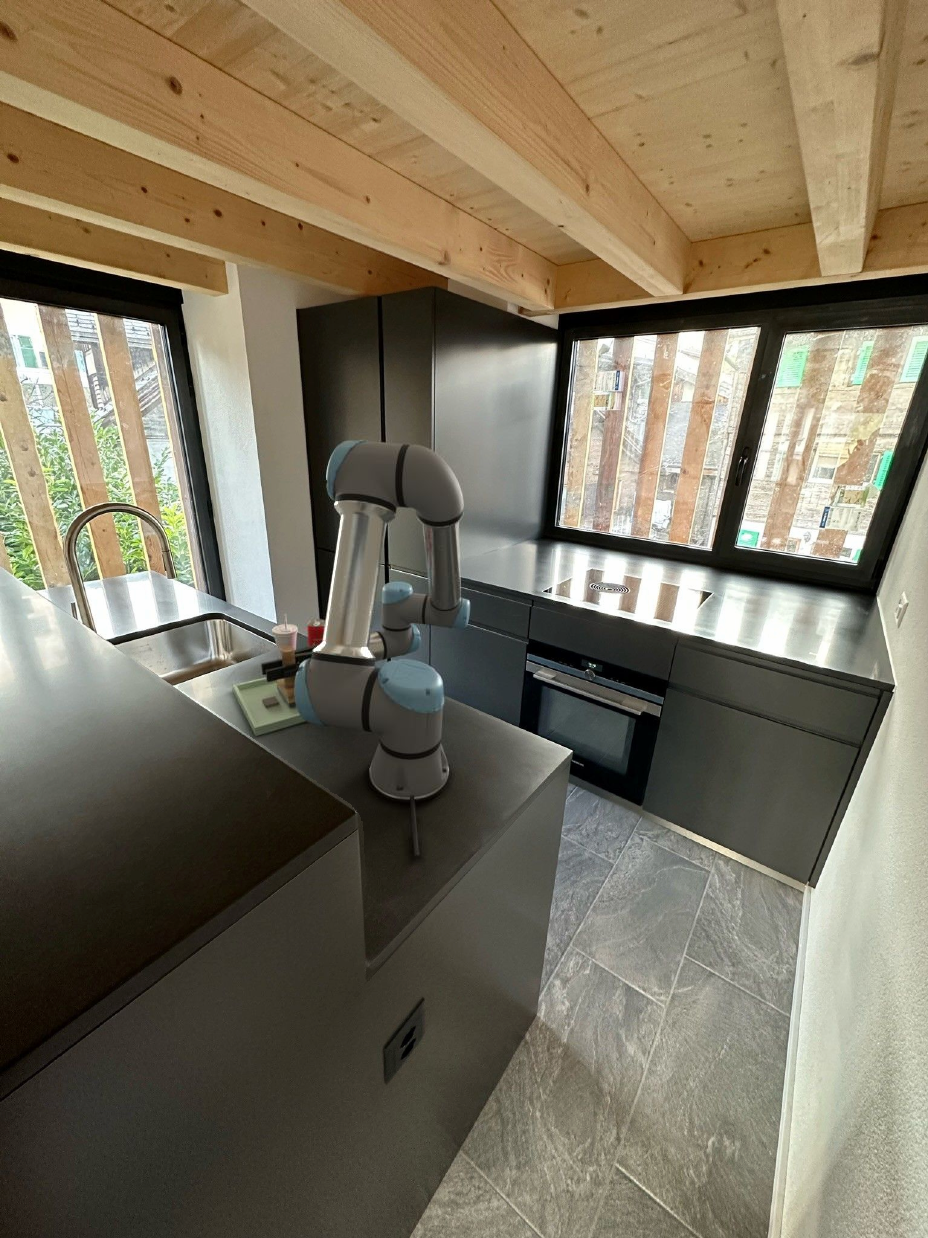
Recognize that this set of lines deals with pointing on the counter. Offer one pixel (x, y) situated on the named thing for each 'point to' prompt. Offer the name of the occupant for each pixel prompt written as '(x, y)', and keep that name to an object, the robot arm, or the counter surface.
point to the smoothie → (285, 636)
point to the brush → (287, 684)
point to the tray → (257, 712)
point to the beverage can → (315, 631)
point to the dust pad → (270, 702)
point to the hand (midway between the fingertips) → (264, 672)
